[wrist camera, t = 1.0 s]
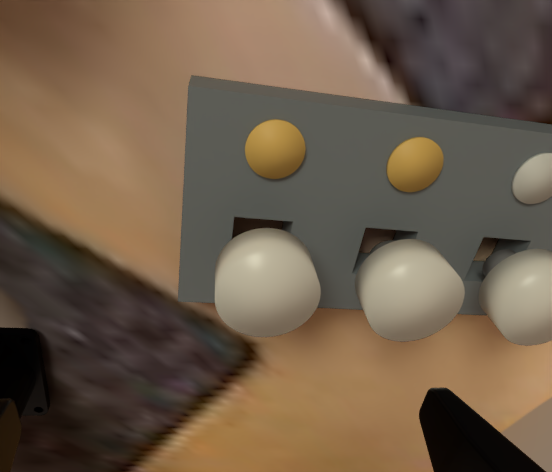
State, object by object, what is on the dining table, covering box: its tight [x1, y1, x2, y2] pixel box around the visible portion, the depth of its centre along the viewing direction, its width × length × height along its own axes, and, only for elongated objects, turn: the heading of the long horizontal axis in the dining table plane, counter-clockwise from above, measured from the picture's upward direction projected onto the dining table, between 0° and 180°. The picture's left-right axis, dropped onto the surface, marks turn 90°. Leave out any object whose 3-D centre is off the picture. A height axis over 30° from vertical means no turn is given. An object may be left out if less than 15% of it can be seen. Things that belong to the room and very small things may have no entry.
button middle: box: [355, 239, 465, 342], centre depth 19 cm, size 4×4×4 cm
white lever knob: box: [478, 249, 552, 346], centre depth 20 cm, size 4×4×4 cm
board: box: [178, 75, 552, 315], centre depth 20 cm, size 10×19×2 cm, turn 82°
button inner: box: [215, 228, 321, 337], centre depth 18 cm, size 4×4×4 cm
